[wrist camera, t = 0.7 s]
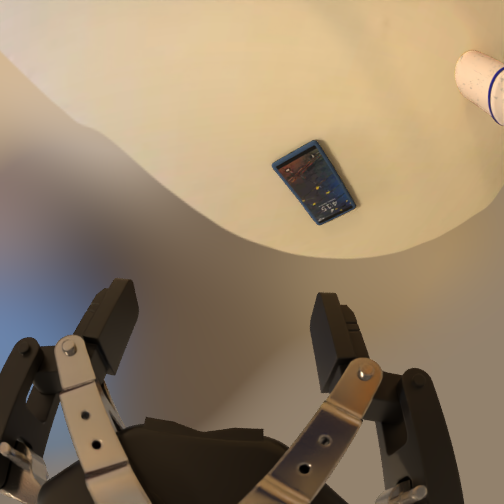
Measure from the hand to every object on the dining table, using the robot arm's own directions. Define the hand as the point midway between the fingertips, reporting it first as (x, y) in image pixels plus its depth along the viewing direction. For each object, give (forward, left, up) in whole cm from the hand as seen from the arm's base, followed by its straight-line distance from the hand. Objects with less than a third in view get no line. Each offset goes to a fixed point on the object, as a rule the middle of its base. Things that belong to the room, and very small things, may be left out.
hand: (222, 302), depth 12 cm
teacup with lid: (+15, +34, -30) cm, 48 cm away
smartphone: (+19, 0, -30) cm, 35 cm away
